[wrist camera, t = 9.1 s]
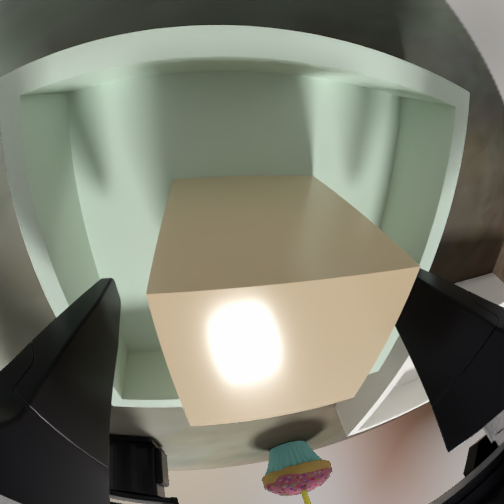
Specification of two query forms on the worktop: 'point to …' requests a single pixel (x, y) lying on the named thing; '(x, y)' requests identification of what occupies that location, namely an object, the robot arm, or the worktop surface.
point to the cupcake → (295, 470)
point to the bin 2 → (401, 375)
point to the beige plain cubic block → (271, 295)
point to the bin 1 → (213, 153)
